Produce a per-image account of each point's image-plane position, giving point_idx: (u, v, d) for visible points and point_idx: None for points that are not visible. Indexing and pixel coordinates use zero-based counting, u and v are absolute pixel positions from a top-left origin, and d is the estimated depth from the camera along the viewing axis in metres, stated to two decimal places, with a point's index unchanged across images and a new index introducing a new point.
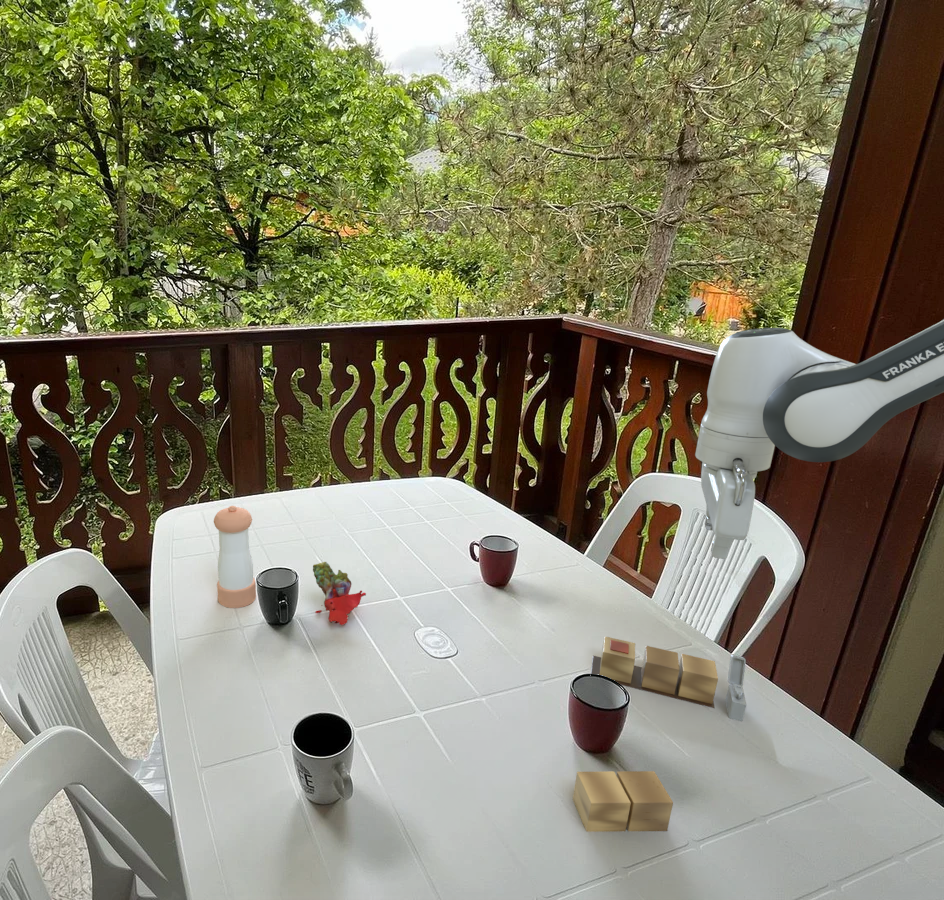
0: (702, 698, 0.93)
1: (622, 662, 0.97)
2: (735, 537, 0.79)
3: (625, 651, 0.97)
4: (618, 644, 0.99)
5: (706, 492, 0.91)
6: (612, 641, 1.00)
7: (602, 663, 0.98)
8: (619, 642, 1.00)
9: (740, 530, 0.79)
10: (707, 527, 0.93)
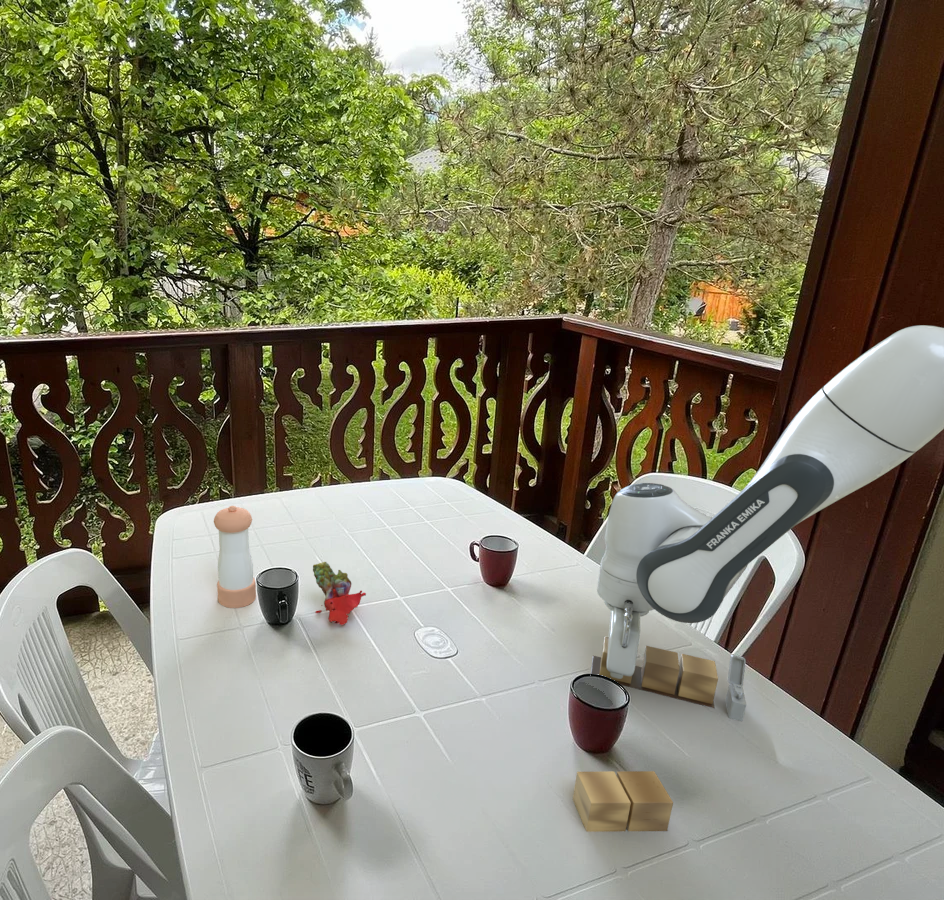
0: (702, 698, 0.93)
1: None
2: (623, 674, 0.89)
3: None
4: None
5: (610, 618, 1.01)
6: None
7: (602, 663, 0.98)
8: None
9: (627, 669, 0.89)
10: None
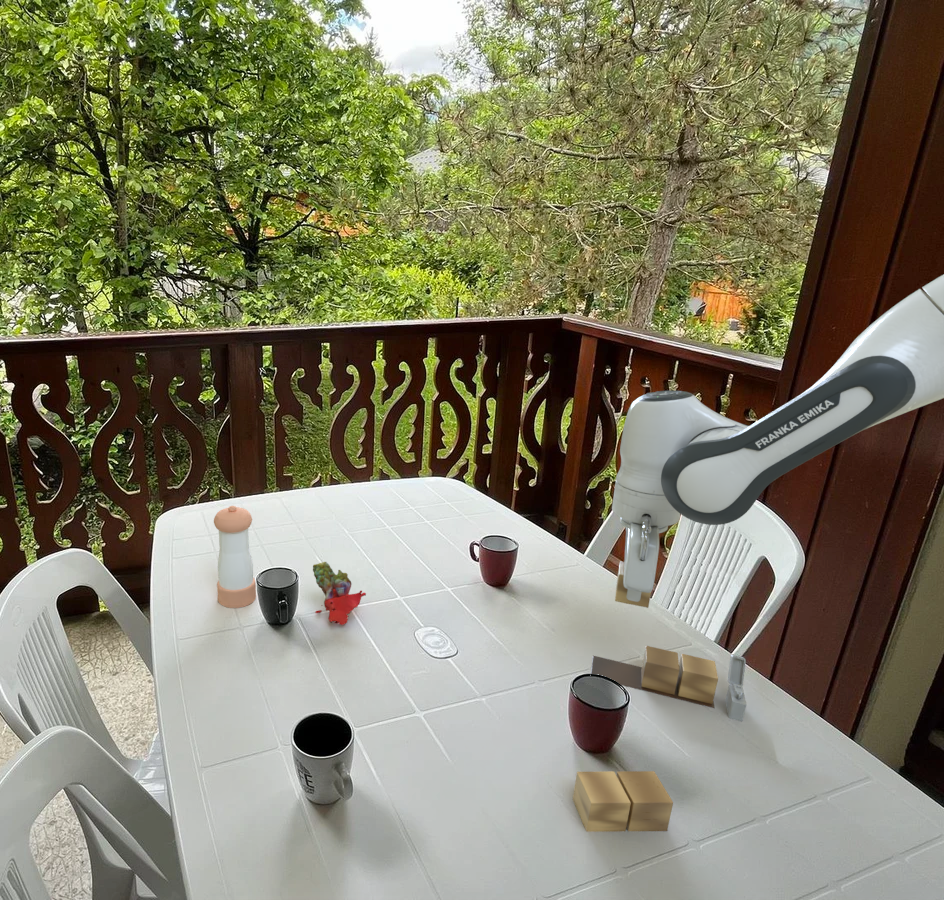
0: (702, 698, 0.93)
1: None
2: (642, 590, 0.84)
3: None
4: None
5: None
6: None
7: (618, 587, 0.93)
8: None
9: (645, 584, 0.83)
10: None
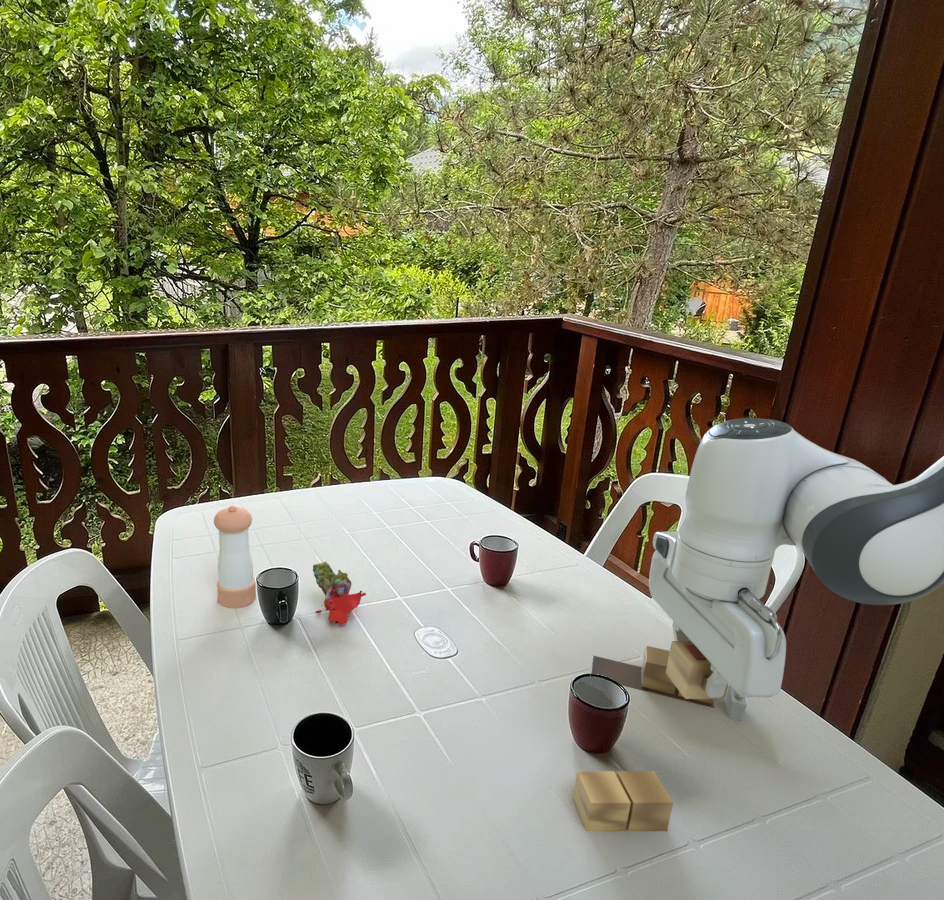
0: None
1: None
2: (766, 696, 0.61)
3: None
4: (698, 649, 0.72)
5: (677, 614, 0.73)
6: (688, 646, 0.72)
7: (690, 681, 0.70)
8: None
9: (773, 688, 0.61)
10: None
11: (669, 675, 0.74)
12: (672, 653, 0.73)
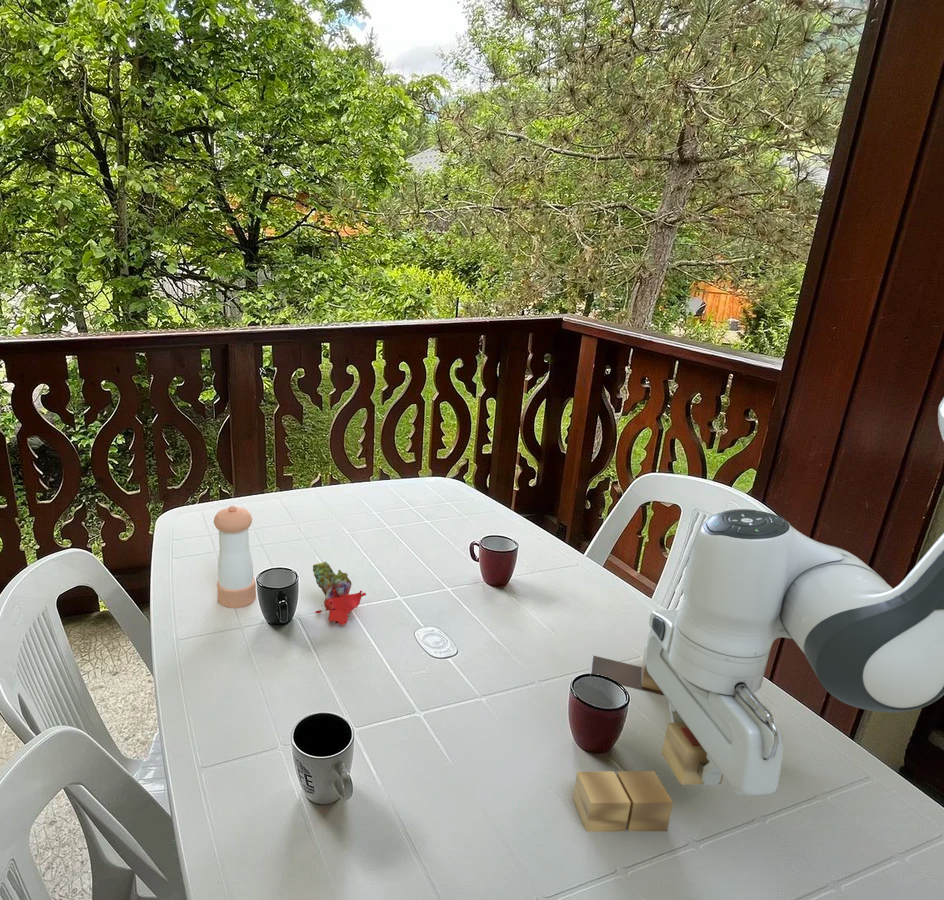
0: None
1: None
2: None
3: None
4: None
5: (674, 697, 0.73)
6: (684, 729, 0.72)
7: (686, 767, 0.70)
8: None
9: (769, 787, 0.61)
10: None
11: (665, 757, 0.74)
12: (668, 735, 0.73)
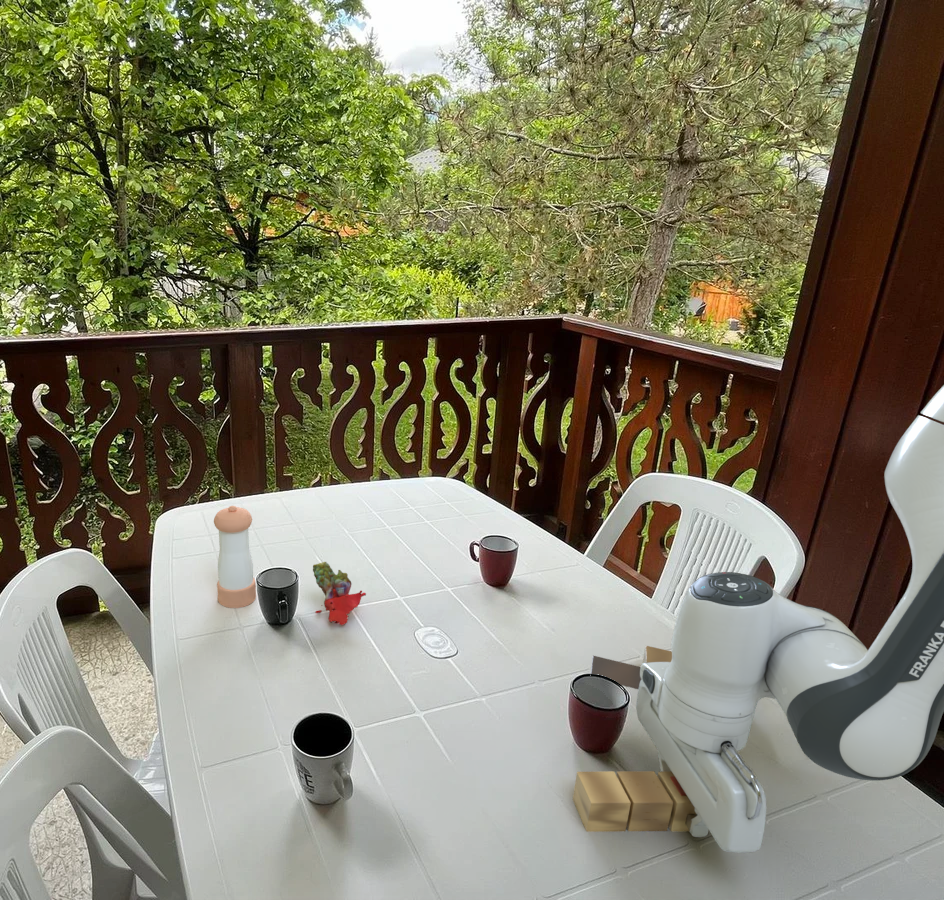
0: None
1: None
2: None
3: None
4: None
5: (663, 748, 0.75)
6: (674, 779, 0.74)
7: (675, 817, 0.72)
8: None
9: (754, 845, 0.63)
10: None
11: None
12: None
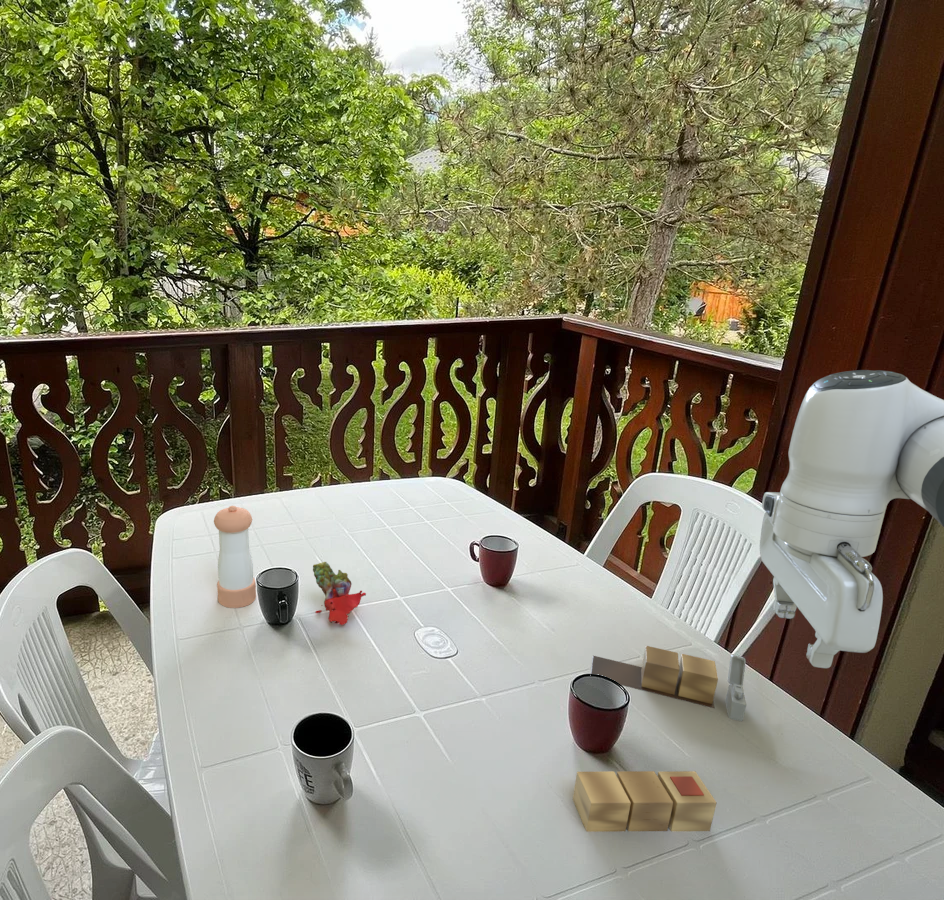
0: (702, 698, 0.93)
1: (701, 810, 0.71)
2: (858, 650, 0.60)
3: (699, 792, 0.72)
4: (683, 782, 0.74)
5: (782, 574, 0.72)
6: (674, 779, 0.74)
7: (675, 817, 0.72)
8: (681, 777, 0.74)
9: (866, 642, 0.60)
10: (780, 614, 0.75)
11: None
12: None
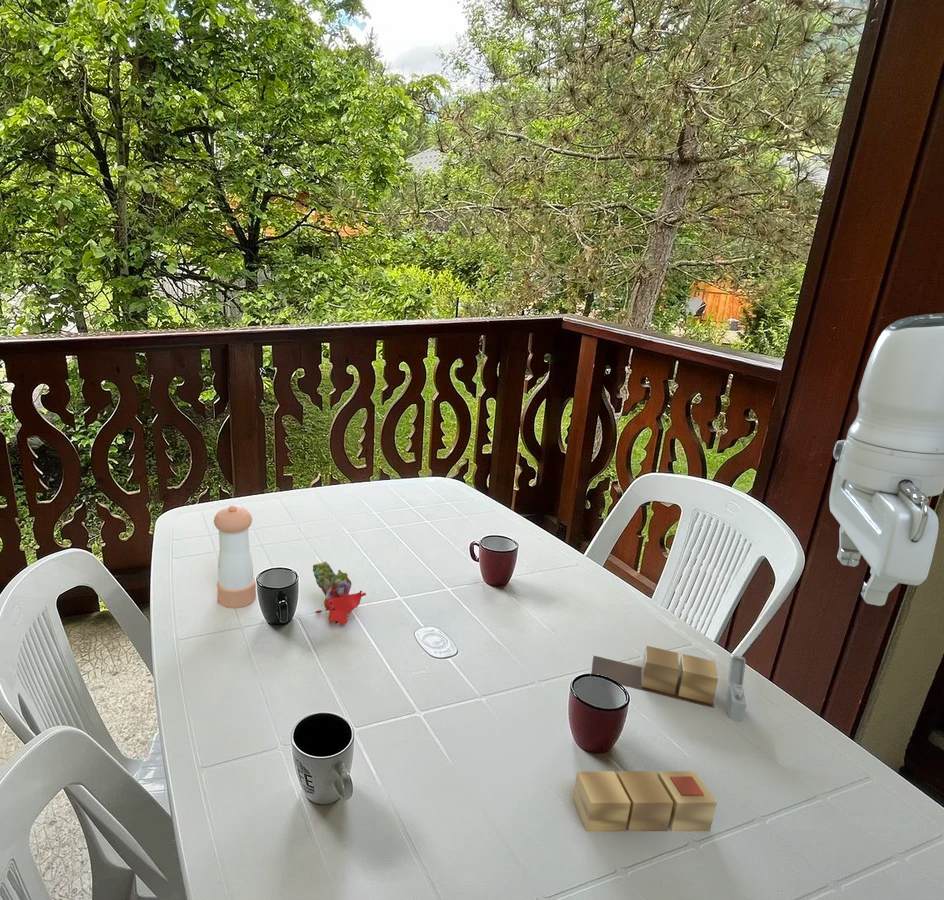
0: (702, 698, 0.93)
1: (701, 810, 0.71)
2: (909, 582, 0.62)
3: (699, 792, 0.72)
4: (683, 782, 0.74)
5: (846, 519, 0.73)
6: (674, 779, 0.74)
7: (675, 817, 0.72)
8: (681, 777, 0.74)
9: (917, 573, 0.61)
10: (842, 561, 0.76)
11: None
12: None
